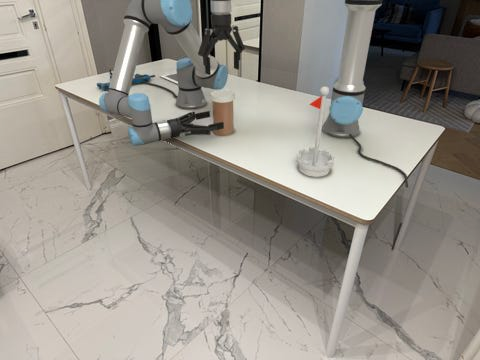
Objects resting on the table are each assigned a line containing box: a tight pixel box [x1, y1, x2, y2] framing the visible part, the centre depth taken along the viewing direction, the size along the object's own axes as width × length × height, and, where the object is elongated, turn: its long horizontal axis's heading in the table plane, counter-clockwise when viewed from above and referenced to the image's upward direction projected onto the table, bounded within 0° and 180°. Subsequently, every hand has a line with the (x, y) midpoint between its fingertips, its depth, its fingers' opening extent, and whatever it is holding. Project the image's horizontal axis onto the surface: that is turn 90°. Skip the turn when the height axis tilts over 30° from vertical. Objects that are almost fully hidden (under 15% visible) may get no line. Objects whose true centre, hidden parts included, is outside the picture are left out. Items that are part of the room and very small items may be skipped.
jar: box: [211, 100, 235, 136], centre depth 145 cm, size 9×9×17 cm
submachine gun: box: [96, 73, 156, 91], centre depth 208 cm, size 34×4×25 cm
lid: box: [209, 88, 236, 103], centre depth 141 cm, size 10×10×2 cm
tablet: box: [159, 71, 178, 85], centre depth 214 cm, size 32×20×1 cm, turn 41°
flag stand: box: [296, 86, 335, 178], centre depth 114 cm, size 13×13×30 cm
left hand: (216, 119), depth 145 cm, fingers open, 13 cm apart
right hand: (222, 71), depth 137 cm, fingers open, 13 cm apart
